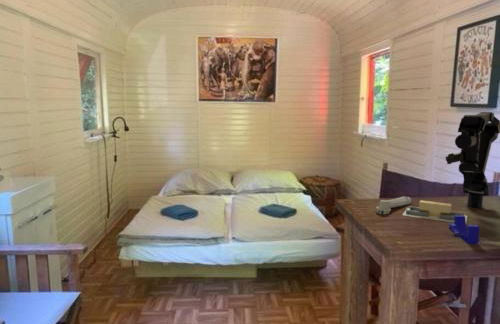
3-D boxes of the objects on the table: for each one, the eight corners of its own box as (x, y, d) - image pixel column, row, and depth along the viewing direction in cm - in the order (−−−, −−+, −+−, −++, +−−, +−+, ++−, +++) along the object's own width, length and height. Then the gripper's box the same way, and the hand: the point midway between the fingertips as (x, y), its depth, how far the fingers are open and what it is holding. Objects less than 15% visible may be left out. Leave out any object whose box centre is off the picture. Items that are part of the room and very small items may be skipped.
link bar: (419, 212, 152) (420, 200, 152) (450, 216, 147) (451, 204, 146) (418, 214, 150) (419, 202, 149) (449, 218, 144) (450, 205, 143)
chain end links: (409, 209, 156) (409, 206, 156) (464, 216, 146) (464, 213, 146) (405, 213, 151) (406, 210, 150) (463, 221, 140) (463, 218, 140)
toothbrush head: (413, 197, 166) (387, 199, 148) (412, 212, 166) (385, 216, 149) (402, 195, 169) (375, 197, 152) (400, 209, 170) (373, 213, 153)
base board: (407, 209, 159) (407, 207, 159) (467, 218, 148) (467, 215, 147) (401, 217, 149) (402, 215, 149) (465, 226, 138) (465, 224, 137)
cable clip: (448, 231, 134) (450, 215, 133) (462, 231, 133) (463, 215, 132) (462, 243, 122) (464, 226, 121) (477, 244, 121) (479, 226, 120)
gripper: (449, 143, 160) (446, 179, 162) (445, 148, 144) (442, 187, 147) (480, 144, 154) (476, 182, 157) (479, 150, 138) (475, 191, 141)
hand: (467, 185), depth 150 cm, fingers open, 9 cm apart
